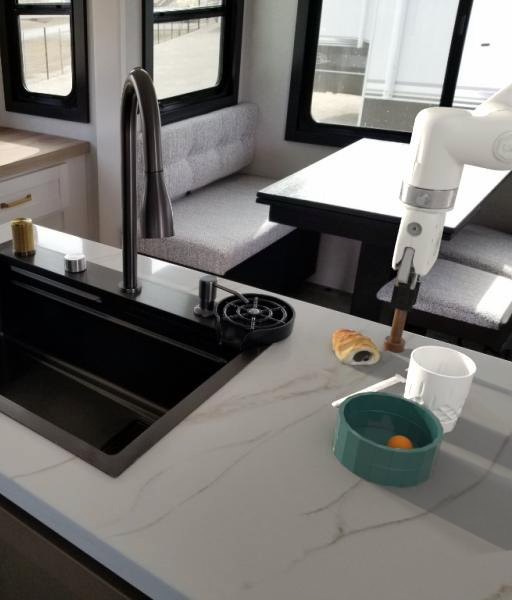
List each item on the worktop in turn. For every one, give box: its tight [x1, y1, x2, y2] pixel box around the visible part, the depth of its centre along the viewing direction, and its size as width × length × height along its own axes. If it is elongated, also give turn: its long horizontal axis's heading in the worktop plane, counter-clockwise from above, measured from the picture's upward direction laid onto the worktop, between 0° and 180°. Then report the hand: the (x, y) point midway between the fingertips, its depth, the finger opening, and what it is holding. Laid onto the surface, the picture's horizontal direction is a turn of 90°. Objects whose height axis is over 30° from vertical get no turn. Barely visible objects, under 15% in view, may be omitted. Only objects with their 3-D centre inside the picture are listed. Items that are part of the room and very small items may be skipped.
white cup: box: [403, 345, 477, 434], centre depth 87 cm, size 8×8×10 cm
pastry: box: [331, 328, 381, 366], centre depth 105 cm, size 9×7×4 cm
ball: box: [387, 435, 413, 449], centre depth 81 cm, size 3×3×3 cm
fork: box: [331, 367, 409, 408], centre depth 96 cm, size 3×20×2 cm, turn 118°
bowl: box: [331, 391, 444, 488], centre depth 81 cm, size 12×12×6 cm
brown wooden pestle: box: [382, 274, 413, 354], centre depth 103 cm, size 3×3×14 cm
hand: (402, 305), depth 102 cm, fingers closed on brown wooden pestle, 2 cm apart
